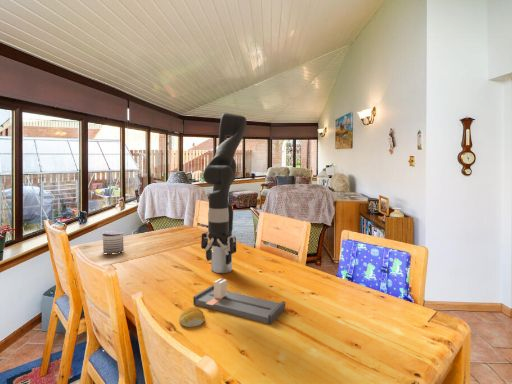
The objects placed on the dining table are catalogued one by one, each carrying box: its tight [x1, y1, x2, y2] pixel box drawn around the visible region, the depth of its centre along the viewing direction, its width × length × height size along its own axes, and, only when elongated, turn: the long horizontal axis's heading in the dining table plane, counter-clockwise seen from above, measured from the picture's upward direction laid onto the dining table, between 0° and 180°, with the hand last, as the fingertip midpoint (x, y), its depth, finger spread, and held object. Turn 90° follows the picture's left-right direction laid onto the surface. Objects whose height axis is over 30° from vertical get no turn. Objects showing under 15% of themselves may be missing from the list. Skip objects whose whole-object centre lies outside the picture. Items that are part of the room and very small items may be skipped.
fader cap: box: [213, 278, 228, 299], centre depth 122 cm, size 3×4×6 cm
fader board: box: [192, 284, 286, 325], centre depth 118 cm, size 32×13×3 cm, turn 62°
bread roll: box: [178, 306, 205, 328], centre depth 109 cm, size 8×9×4 cm
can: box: [102, 230, 125, 254], centre depth 188 cm, size 11×11×12 cm
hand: (218, 262), depth 121 cm, fingers open, 8 cm apart
